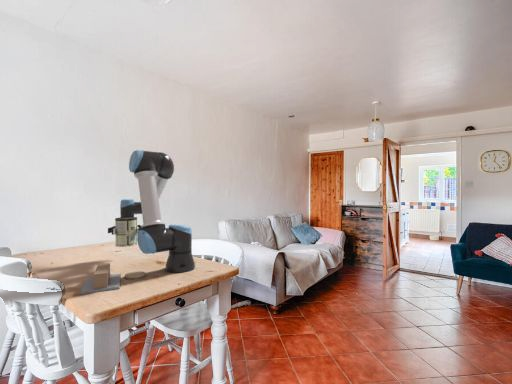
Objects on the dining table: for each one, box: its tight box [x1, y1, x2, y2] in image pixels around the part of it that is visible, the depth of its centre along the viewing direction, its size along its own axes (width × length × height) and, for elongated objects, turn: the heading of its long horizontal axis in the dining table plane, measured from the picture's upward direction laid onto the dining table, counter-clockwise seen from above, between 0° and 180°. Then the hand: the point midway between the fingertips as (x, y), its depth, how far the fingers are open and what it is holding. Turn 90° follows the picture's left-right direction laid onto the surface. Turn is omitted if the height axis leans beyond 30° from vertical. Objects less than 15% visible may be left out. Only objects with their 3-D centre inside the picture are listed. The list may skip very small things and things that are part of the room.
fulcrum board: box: [79, 262, 122, 295], centre depth 119 cm, size 20×14×7 cm
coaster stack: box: [124, 270, 147, 281], centre depth 129 cm, size 9×9×2 cm
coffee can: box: [114, 216, 138, 248], centre depth 139 cm, size 10×10×14 cm
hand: (126, 231), depth 135 cm, fingers closed on coffee can, 10 cm apart
